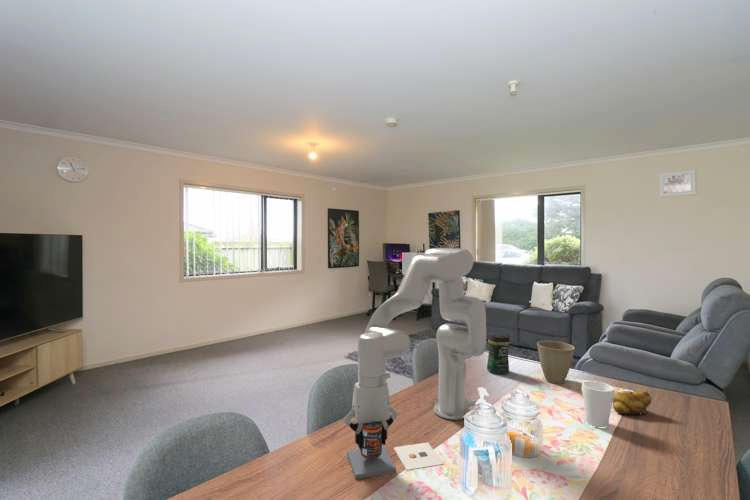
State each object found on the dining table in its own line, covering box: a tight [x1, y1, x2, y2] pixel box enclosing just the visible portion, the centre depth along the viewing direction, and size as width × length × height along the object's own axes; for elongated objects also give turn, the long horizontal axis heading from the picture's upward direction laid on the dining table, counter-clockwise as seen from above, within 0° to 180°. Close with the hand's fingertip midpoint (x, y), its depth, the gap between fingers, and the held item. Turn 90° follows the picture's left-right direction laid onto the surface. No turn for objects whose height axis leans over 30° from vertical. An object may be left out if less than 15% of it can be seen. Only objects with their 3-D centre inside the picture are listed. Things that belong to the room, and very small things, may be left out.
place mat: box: [346, 445, 397, 479], centre depth 101 cm, size 11×11×1 cm
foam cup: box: [581, 380, 615, 428], centre depth 124 cm, size 10×9×13 cm
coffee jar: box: [486, 331, 511, 375], centre depth 173 cm, size 10×8×19 cm
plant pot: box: [536, 340, 575, 385], centre depth 162 cm, size 15×15×16 cm
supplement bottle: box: [360, 421, 383, 459], centre depth 100 cm, size 6×6×11 cm
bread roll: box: [612, 390, 652, 415], centre depth 134 cm, size 13×10×8 cm
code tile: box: [393, 441, 445, 471], centre depth 104 cm, size 11×11×1 cm
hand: (371, 443), depth 101 cm, fingers closed on supplement bottle, 6 cm apart
